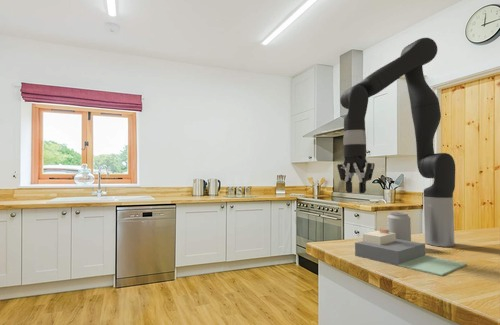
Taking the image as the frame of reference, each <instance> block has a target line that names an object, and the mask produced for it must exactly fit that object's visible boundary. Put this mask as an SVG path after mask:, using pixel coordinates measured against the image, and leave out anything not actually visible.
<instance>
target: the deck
mask: <svg viewBox="0 0 500 325" xmlns="http://www.w3.org/2000/svg"><path fill="white" fill-rule="evenodd" d="M354 253H355V254H354V255H355V256H357V257H360V258H363V259H369V260H373V261H376V262H380V263H386V264H389V265H394V266H397V267H399V266H398V264H401V263H404V262H407V261H410V260H413V259H416V258H419V257H422V256H425V255H426V243H425V242H424V243H423V242H417V241H412V240H411V241H406V240H400V239H396V241H394V242H390V243H386V244H382V245H378V244H373V243H368V242H363V240H360V241H356V242H354Z"/></svg>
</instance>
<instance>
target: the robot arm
mask: <svg viewBox="0 0 500 325" xmlns="http://www.w3.org/2000/svg"><path fill="white" fill-rule="evenodd" d="M437 54H438V45H437V42H436V41H435V40H434V39H432V38H430V37H422V38H418V39H417V40H415V41H413V42H411V43H410V44H408V45H406V46H404V47H403V49H402V50H401V52H400V56H399V57H396V58H395V59H394V60H392V61H391V62H388V63H387V64H385V65H383V66H382V67H380V68H378V69H376V70H375V71H373V72H371V73H370V74H369V75H368V76H366V77H365V78H364V79H363V80H361V81H360V82H358V83H356V84H354V85H353V86H350V87H349V88H348V89H346V90H345V91H343V92H342V94H341V95H340V99H339V101H340V105H341V106H342V107H343V108H344V109H346V110H347V113H346V115H345V116H344V118H343V136H342V137H343V158H344V161H343V163H339V164H337V166H336V168H337V171H338V175H339V179H340V180H341V181H343V182H345V191H346V193H347V194H352V193H353V182H352V181H353V178H354V175H355V174H356V176H357V177H358V180H359V182H358V188H359V189H358V193H359V194H365V193H366V191H367V182H369V181H371V180H372V177H373V174H374V170H375V163H373V162H368V161H367V136H366V120H365V119H366V114H367V110H368V105H369V98H371V97H373V96H375V95H377V94H379V93H380V92H382V91H384V90H385V89H386V88H387V87H389V86H390V85H392V84H394V82H396V81H398V79H400V78H401V77H403V76H404V79H405V83H406V87H407V90H408V91H407V92H408V95H409V96H408V97H409V102H410V103H409V104H410V109H411V110H410V111H411V117H412V122H413V127H414V136H415V137H414V138H415V146H416V164H417V170H418V172H419V174H420V176H422V177H423V178H425V179H433V183H432V184H431V185H430V186H428V187H425V188H424V189H423V213H424V214H423V219H424V244H425V245H426V244H427V245H430V246H436V247H443V248H445V247H447V248H448V247H454V246H455V243H456V242H455V221H454V219H455V217H454V216H455V215H454V191H455V188H456V162H455V159H454V157H453V156H452V155H451V154H450V153H447V152H439V153H435V151H434V138H435V135H436V132H437V130H438V128H439V125H440V123H441V118H442V115H441V114H442V113H441V112H442V111H441V106H440V100H439V98H438V96H437V94H436V93H435V91H433V89H432V88H431V87H430V85H429V84H428V82H427V81H426V79H425V75H424V69H423V66H424V65H426V64H428V63H431V62H432V61H433V60H434V59H435V58H436V56H437Z"/></svg>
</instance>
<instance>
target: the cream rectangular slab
mask: <svg viewBox="0 0 500 325" xmlns="http://www.w3.org/2000/svg"><path fill="white" fill-rule="evenodd" d="M362 241H363V242H368V243H373V244H378V245H382V244H386V243H390V242H394V241H396V233H390V232H389V229H387V228H380V229H379V230H376V231H370V232H365V233H362Z"/></svg>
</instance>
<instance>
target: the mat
mask: <svg viewBox="0 0 500 325" xmlns="http://www.w3.org/2000/svg"><path fill="white" fill-rule="evenodd" d="M465 266H467V263H465V262H460V261H456V260H450V259H446V258H440V257H435V256H429V255H426V254H425V256H422V257H419V258H416V259H413V260H410V261H407V262H404V263H401V264H398V266H397V267H402V268H406V269H409V270H414V271H417V272H423V273H427V274H430V275H431V274H432V275H435V276H438V277H443V276H445V275H447V274H449V273H452V272H454V271H456V270H459V269H462V268H463V267H465Z"/></svg>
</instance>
